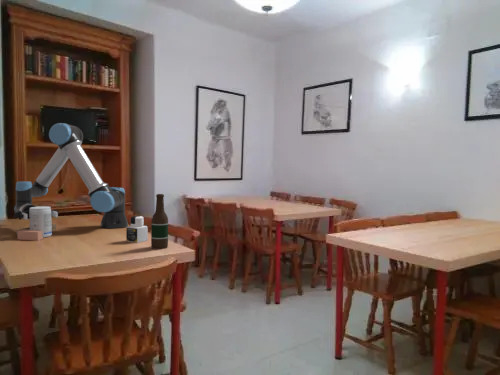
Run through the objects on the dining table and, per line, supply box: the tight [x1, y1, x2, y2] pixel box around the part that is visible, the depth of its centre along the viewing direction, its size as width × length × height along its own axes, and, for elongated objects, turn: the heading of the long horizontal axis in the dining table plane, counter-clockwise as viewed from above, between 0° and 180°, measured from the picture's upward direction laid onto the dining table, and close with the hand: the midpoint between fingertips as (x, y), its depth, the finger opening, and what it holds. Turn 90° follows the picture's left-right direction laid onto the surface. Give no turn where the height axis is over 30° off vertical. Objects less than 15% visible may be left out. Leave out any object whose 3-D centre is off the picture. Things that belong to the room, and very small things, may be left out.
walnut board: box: [15, 223, 57, 237], centre depth 193 cm, size 6×21×3 cm, turn 170°
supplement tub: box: [28, 205, 53, 238], centre depth 183 cm, size 10×10×15 cm
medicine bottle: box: [125, 215, 149, 244], centre depth 177 cm, size 7×7×12 cm
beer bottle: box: [150, 193, 169, 250], centre depth 164 cm, size 8×8×24 cm
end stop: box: [16, 230, 43, 241], centre depth 176 cm, size 11×3×4 cm, turn 80°
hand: (42, 215), depth 181 cm, fingers open, 13 cm apart
